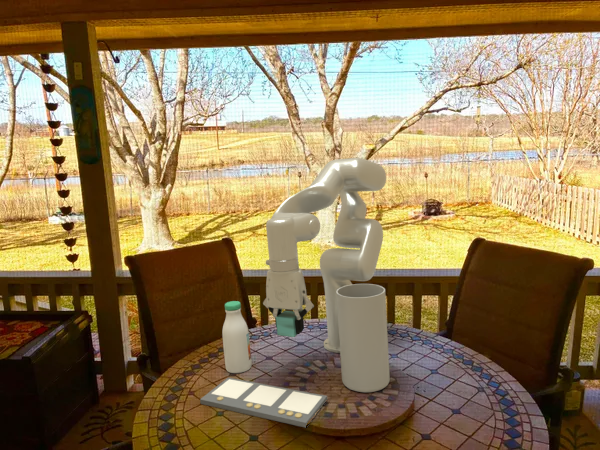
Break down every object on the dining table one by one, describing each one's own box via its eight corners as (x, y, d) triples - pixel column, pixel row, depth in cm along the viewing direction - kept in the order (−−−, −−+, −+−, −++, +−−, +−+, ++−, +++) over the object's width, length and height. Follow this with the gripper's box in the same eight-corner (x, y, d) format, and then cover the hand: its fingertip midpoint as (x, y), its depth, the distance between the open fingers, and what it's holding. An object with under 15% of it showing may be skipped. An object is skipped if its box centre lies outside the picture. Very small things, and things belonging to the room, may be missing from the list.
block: (286, 328, 119) (284, 310, 118) (302, 329, 117) (301, 312, 116) (277, 335, 114) (275, 317, 114) (294, 337, 112) (292, 318, 111)
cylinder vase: (361, 366, 124) (356, 281, 121) (399, 379, 115) (394, 288, 112) (332, 383, 115) (326, 292, 112) (370, 399, 106) (365, 300, 103)
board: (228, 381, 121) (227, 376, 121) (327, 400, 107) (327, 394, 107) (200, 403, 110) (199, 398, 110) (306, 427, 97) (305, 421, 97)
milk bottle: (247, 374, 124) (240, 307, 122) (221, 373, 126) (214, 307, 123) (255, 362, 132) (249, 298, 129) (231, 361, 133) (224, 299, 131)
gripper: (248, 267, 113) (255, 333, 116) (307, 269, 106) (313, 340, 108) (263, 260, 120) (269, 323, 123) (319, 262, 112) (325, 329, 115)
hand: (290, 330), depth 115 cm, fingers closed on block, 5 cm apart
